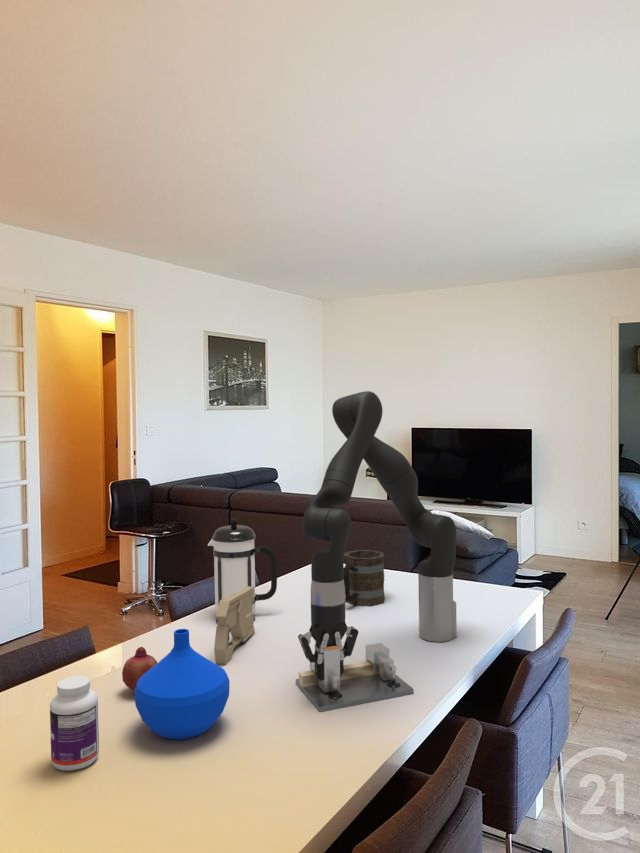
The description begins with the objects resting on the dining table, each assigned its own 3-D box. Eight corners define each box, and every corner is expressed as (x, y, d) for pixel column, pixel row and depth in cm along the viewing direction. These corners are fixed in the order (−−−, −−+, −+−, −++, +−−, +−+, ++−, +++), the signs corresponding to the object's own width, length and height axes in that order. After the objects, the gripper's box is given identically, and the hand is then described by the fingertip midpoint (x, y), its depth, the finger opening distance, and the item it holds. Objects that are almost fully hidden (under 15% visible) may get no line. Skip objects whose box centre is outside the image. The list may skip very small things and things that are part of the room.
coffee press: (234, 630, 184) (232, 524, 183) (200, 618, 195) (198, 518, 194) (279, 615, 197) (277, 516, 196) (244, 604, 208) (242, 511, 207)
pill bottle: (59, 750, 120) (57, 673, 120) (104, 748, 121) (102, 671, 121) (44, 775, 112) (42, 692, 112) (92, 772, 113) (90, 690, 112)
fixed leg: (381, 665, 154) (380, 642, 154) (402, 682, 144) (402, 658, 144) (365, 668, 153) (365, 645, 153) (386, 685, 143) (386, 661, 143)
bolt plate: (382, 668, 156) (382, 663, 156) (413, 693, 142) (413, 688, 142) (295, 683, 148) (295, 678, 148) (319, 711, 134) (319, 706, 134)
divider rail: (386, 667, 154) (386, 657, 154) (391, 671, 151) (391, 661, 151) (298, 683, 146) (298, 672, 146) (302, 687, 144) (302, 676, 143)
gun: (225, 666, 158) (226, 604, 159) (212, 666, 159) (213, 603, 160) (255, 640, 182) (255, 586, 183) (244, 639, 183) (244, 585, 183)
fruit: (120, 688, 147) (119, 644, 147) (156, 681, 150) (155, 638, 150) (124, 702, 140) (123, 656, 139) (163, 695, 143) (162, 650, 143)
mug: (356, 592, 220) (356, 548, 220) (393, 597, 213) (392, 552, 213) (326, 608, 203) (325, 560, 203) (365, 614, 196) (364, 565, 196)
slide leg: (326, 674, 149) (325, 632, 149) (345, 693, 139) (344, 648, 139) (310, 677, 148) (309, 635, 148) (327, 697, 138) (327, 651, 138)
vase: (185, 761, 116) (182, 655, 115) (114, 735, 126) (112, 637, 125) (249, 719, 131) (247, 625, 131) (182, 698, 141) (180, 611, 140)
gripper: (350, 591, 148) (351, 666, 148) (291, 598, 143) (292, 676, 143) (364, 600, 141) (365, 678, 141) (303, 608, 136) (304, 690, 136)
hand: (329, 677), depth 142 cm, fingers closed on slide leg, 3 cm apart
